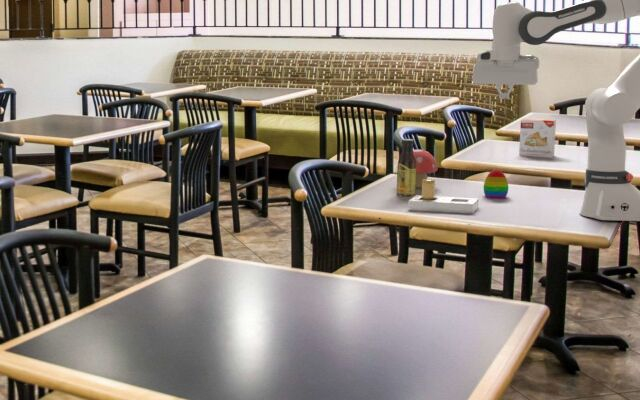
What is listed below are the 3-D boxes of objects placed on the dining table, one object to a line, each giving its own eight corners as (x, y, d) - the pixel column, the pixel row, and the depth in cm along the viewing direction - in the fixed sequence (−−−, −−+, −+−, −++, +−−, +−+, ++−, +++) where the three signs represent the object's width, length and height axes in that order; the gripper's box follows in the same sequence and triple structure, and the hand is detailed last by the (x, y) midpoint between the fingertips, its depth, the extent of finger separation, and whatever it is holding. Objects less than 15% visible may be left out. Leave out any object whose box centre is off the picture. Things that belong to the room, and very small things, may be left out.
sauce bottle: (393, 197, 316) (394, 138, 313) (410, 196, 318) (411, 138, 315) (401, 199, 310) (402, 140, 307) (418, 199, 312) (419, 139, 309)
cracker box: (518, 168, 397) (520, 119, 394) (521, 166, 403) (522, 118, 399) (551, 169, 392) (553, 120, 388) (553, 168, 397) (556, 119, 394)
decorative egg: (502, 201, 307) (503, 171, 306) (479, 199, 312) (480, 169, 310) (511, 198, 314) (512, 169, 313) (488, 196, 319) (489, 167, 317)
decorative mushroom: (390, 191, 328) (391, 149, 326) (415, 188, 337) (416, 146, 335) (420, 196, 319) (421, 152, 316) (444, 192, 328) (445, 149, 325)
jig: (478, 207, 295) (478, 198, 295) (472, 213, 284) (473, 204, 283) (416, 204, 301) (416, 195, 300) (408, 210, 290) (408, 200, 289)
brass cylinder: (435, 207, 295) (435, 179, 294) (432, 209, 291) (433, 181, 290) (422, 206, 296) (423, 178, 295) (420, 208, 293) (420, 180, 291)
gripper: (540, 55, 293) (538, 99, 295) (475, 54, 299) (473, 97, 301) (538, 55, 287) (536, 100, 289) (472, 54, 293) (470, 98, 295)
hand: (504, 99), depth 295 cm, fingers closed
